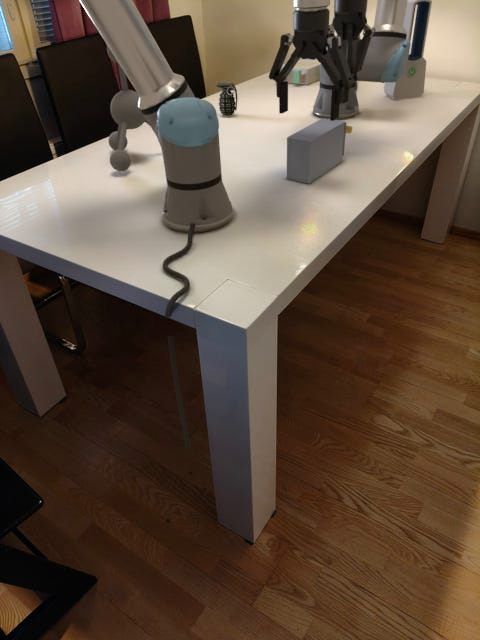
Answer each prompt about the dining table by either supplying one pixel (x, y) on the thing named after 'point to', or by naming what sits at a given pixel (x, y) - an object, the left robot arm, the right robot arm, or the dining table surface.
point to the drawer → (346, 130)
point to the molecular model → (123, 120)
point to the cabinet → (314, 150)
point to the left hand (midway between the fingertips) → (308, 115)
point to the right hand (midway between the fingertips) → (343, 101)
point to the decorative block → (304, 72)
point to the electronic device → (413, 53)
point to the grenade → (227, 99)
